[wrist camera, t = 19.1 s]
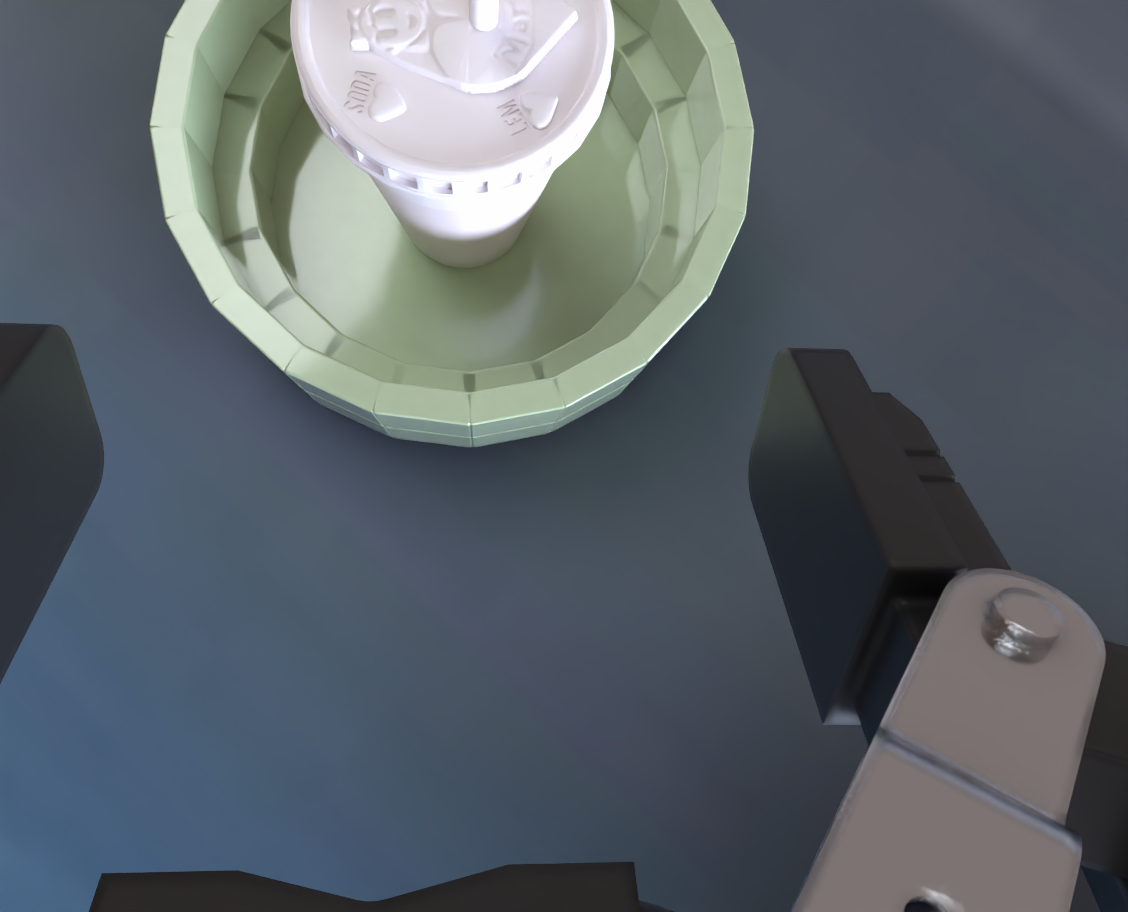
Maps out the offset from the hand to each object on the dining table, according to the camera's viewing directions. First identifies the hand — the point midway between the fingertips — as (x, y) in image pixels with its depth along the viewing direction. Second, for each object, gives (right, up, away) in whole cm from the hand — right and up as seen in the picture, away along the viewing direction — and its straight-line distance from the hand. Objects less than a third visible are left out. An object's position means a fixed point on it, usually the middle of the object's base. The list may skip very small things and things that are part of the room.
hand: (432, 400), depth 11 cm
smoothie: (-1, +7, +17) cm, 18 cm away
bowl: (-1, +7, +17) cm, 19 cm away
